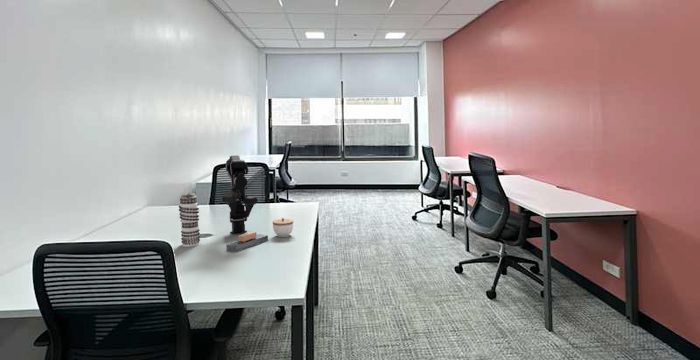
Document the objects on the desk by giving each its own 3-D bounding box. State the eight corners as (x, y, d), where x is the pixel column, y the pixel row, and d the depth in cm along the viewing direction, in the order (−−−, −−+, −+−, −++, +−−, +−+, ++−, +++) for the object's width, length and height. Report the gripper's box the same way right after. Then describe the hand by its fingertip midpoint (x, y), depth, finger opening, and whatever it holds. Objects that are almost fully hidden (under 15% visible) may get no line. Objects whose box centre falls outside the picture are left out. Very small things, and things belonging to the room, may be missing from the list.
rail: (226, 249, 197) (226, 244, 197) (258, 238, 216) (258, 234, 216) (236, 251, 194) (235, 246, 194) (268, 240, 213) (267, 235, 213)
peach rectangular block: (239, 246, 202) (238, 235, 201) (252, 242, 210) (251, 231, 209) (243, 247, 200) (243, 236, 200) (256, 243, 208) (256, 232, 207)
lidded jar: (284, 239, 215) (283, 221, 214) (268, 236, 220) (268, 218, 219) (297, 234, 224) (297, 217, 223) (282, 232, 229) (281, 215, 228)
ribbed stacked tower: (180, 243, 210) (177, 193, 207) (200, 240, 214) (197, 191, 210) (181, 247, 202) (177, 195, 199) (201, 245, 205) (198, 194, 202)
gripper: (213, 186, 209) (215, 217, 211) (241, 188, 200) (242, 221, 202) (230, 183, 219) (231, 213, 221) (257, 185, 210) (258, 216, 212)
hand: (240, 216), depth 214 cm, fingers open, 9 cm apart
